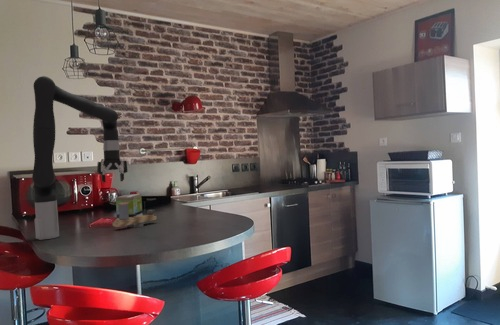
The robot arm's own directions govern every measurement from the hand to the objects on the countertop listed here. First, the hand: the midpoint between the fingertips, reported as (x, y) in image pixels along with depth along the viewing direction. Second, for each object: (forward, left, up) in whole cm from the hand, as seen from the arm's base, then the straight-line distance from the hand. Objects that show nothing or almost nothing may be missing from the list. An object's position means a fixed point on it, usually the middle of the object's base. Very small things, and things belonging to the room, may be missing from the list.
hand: (113, 181), depth 197 cm
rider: (+2, -4, -20) cm, 20 cm away
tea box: (+15, +14, -24) cm, 32 cm away
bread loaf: (+9, -4, -24) cm, 26 cm away
